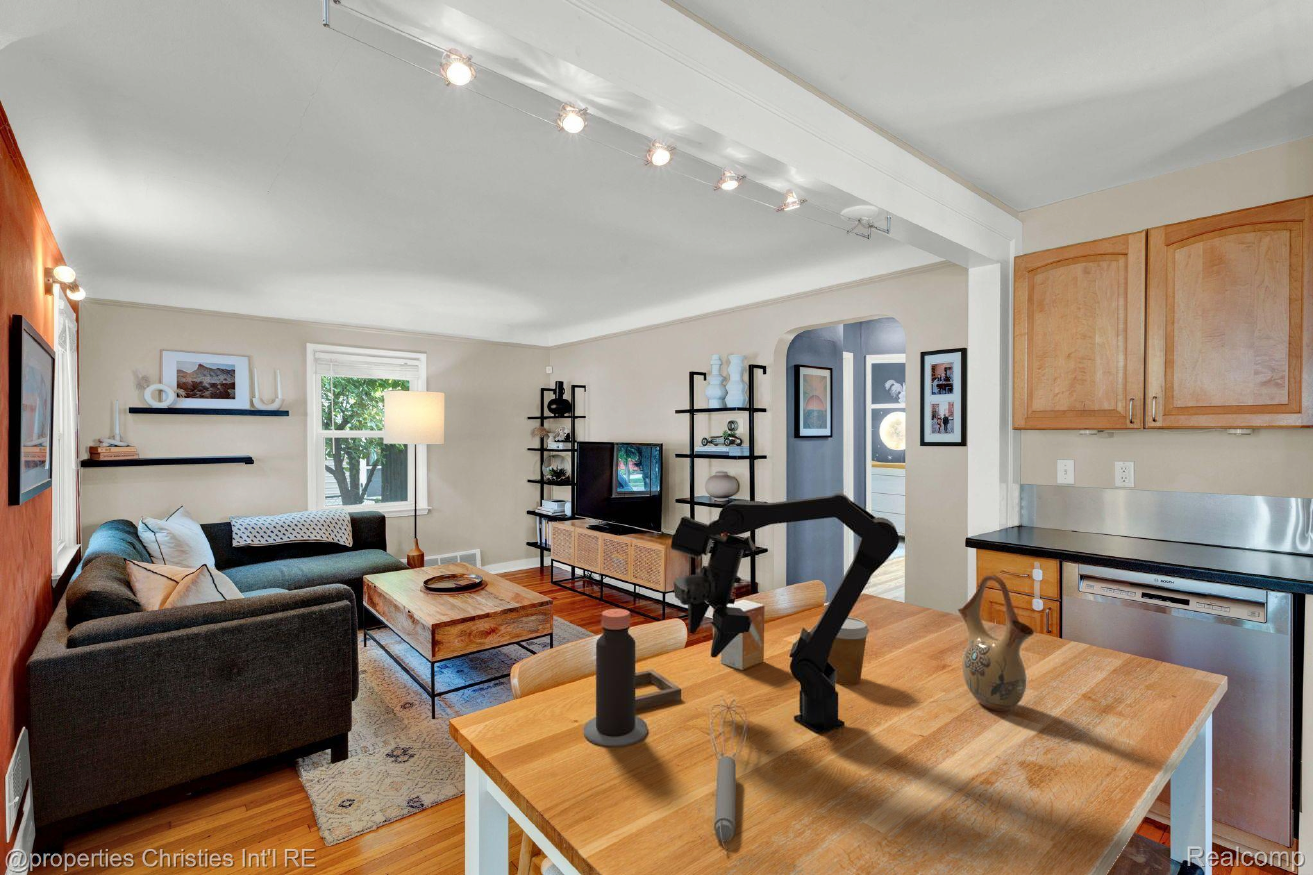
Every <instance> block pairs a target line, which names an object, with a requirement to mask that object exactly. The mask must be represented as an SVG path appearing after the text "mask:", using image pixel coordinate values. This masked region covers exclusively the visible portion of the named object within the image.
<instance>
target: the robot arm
mask: <svg viewBox="0 0 1313 875" xmlns="http://www.w3.org/2000/svg"><path fill="white" fill-rule="evenodd" d="M831 518H836V519H837V520H838V521H840V522H841V523H842V524H844V526H846V527H847V528H848V529H849V530H850V531H852V533H854V534H855V535H857V537H859V540H858V543H857V547H856V549H855V553H854V556H853V559H852V562H851V563H850V565H849V567H848V568H847V570H846V572H845V574H844V575H843V577H842V579H841V581H840V583H839V584H838V587H837V588H836V589H835V591H834V593H833V595H832V597H831V599H830V600H829V602H828V604H827V605H826V608H825V609H824V610H823V613H822V615H821V616H820V618H819V620H818V621H817V623H816V624H815V625H814V626H813V628H811V629H810V630H807V629H806V628H805V627H802V628H801V632H800V634H799V636H798V639H797V640H796V641H795V642H794V643H792V646H791V649H790V653H789V658H791V661H790V664H789V669H790V672H791V675H792V676H793V679H795V681H797V682H798V683H799V684H800V690H799V700H798V702H799V706H798V707H799V712H798V713H800V714H796V715H793V719H794V720H795V721H796V722H798V723H800V724H801V725H803V726H805V727H806V728H808V729H810V730H812V731H813V732H815V733H816V734H823V733H825V732H829V731H832V730H836V729H838V728H842V727H844V726H845V725H846V722H845V721H843V720H842V719H840V718H839V692H838V691H837V689H836V688H837V683H836V676H837V670H836V669H835V668H834V667H833V666H832V665H831V664H830V663H829V662H828V658H829V655H830V652H831V648H832V645H833V642H834V640H835V638H836V636H837V635H838V633H839V631H840V629H841V628H842V626H843V624H844V622H845V621H846V619H847V617H849V616H850V614H851V612H852V610H853V609H854V607H855V605H856V603H857V601H858V600H859V598H860V597H861V594H862V593H863V591H864V589H865V588H866V586H867V585H868V583H869V581H870V579H871V578H872V576H873V575H874V573H875V572H876V571H878V569H879V568H880V567H881V566H883V565H884V564H885V563H886V562H887V561H888V559H889V558H890V557H891V556H892V555H893V553H894V552H895V551H896V550H897V548H898V546H899V543H900V536H899V532H898V531H897V528H896V526H895V525H894V523H893V522H892V521H891V520H889V519H887V518H885V517H879V516H877V517H876V516H875V515H873V514H872V513H871V512H869V511H868V510H866V509H865V508H863V507H862V506H860V505H858V504H856V503H855V502H854V501H853V500H851V499H850V497H848V496H847V495H846V494H844V493H834V494H832V495H825V496H817V497H807V498H800V499H794V500H793V499H792V500H783V501H778V502H777V501H775V502H763V501H755V500H735V501H731V502H730V503H728V504H727V505H724V506H723V507H722V509H721V510H720V512H719V515H718V518H717V519H716V520H715V519H714V520H712V521H711V522H710V523H709V524H707V523H704V522H701V521H698V520H695V519H693V518H691V517H689V516H686V515H684V516H682V517H680V521H679V523H678V525H677V527H676V529H675V532H674V533H673V535H672V538H671V539H672V540H671V544H670V549H671V550H672V551H674V552H678V553H680V554H684V555H686V556H688V557H692V558H695V559H698V560H700V559H702V556H706V557H707V556H708V554H709V553H710V556H709V560H708V564H707V565H703V566H702V567H701V568H700V571H699V573H698V574H690V575H685V576H682V577H679V578H675V579H673V589H674V597H675V599H677V600H679V602H680V604H682V605H684V606H687V610H688V611H687V612H688V632H689V634H691V635H695V634H696V633H697V630H698V629H699V628H700V625H701V624H702V622H703V620H704V618H705V616H706V614H707V612H708V609H709V608H710V607H711V608H712V609H713V613H712V621H710V625H711V627H712V628H713V630H714V632H713V637H712V642H711V648H710V657H711V658H714V659H715V658H718V656H719V655H721V652H722V651H723V650H724V648H725V647H726V646H727V645H728V644H729V643H730V642H731V641H732V640H733V639H734V638H735V637H736V636H737V635H739V634H740V633H744V632H749V631H750V628H751V624H752V620H751V618H750V617H749V616H748V615H747V614H746V613H745V612H744V611H743V610H742V609H740V608H734V607H727V606H726V605H728V604H734V602H736V598H735V597H733V591H734V587H735V584H741V579H742V578H741V577H740V576H739V575H738V573H739V570H740V564H741V562H742V558H743V555H744V551H745V552H748V553H753V552H754V551H755V549H756V547H757V546H756V545H755V543H754V542H753V541H752V538H751V536H750V535H748V536H746V537H744V538H742V537H739V535H742V534H743V535H744V534H745V533H749V532H753V531H755V530H758V529H761V528H764V527H767V526H770V525H778V524H787V523H796V522H797V523H798V522H804V521H805V522H806V521H813V520H823V519H831ZM725 533H726V534H727V536H722V534H725ZM712 543H713V545H712ZM711 547H712V548H711ZM710 551H711V552H710Z"/></svg>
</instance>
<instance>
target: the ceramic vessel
mask: <svg viewBox="0 0 1313 875" xmlns="http://www.w3.org/2000/svg"><path fill="white" fill-rule="evenodd" d="M989 581H992V582H995V583H996V584H997V585H998V586H999V589H1000V590H1001V594H1002V598H1003V602H1004V608H1005V609H1004V610H1005V618H1006V621H1005V623H1006V624H1005V632H1004V635H1003V637H1002V638H1001V639H998V638H995V637H993V636H992V635H991V634H989V632H988V631H987V630H986V627H985V626H984V623H983V621H982V618H981V608H982V602H983V598H984V593H985V590H986V587H987V584H988V583H989ZM957 611H958V613H959V614H960V616H961V617H962V619H963V621H964V623H965V624H966V628H967V631H968V632H967V633H968V643H967V645H966V648H965V650H964V653H963V655H962V661H961V662H962V664H961V666H962V676H963V679H964V681H965V684H966V688H968V690H969V692H970V693H971V695H972V696H973V698H974V699H975V700H976V701H978V703H979V704H980V705H982V706H983V707H985V708H987V709H990V710H993V711H996V712H1006V711H1009V710H1011V709H1014V708H1015V707H1016V706H1017V705H1018V704H1019V703H1020V702H1021V700H1022V699H1023V697H1024V695H1025V693H1026V688H1027V673H1026V668H1025V665H1024V662H1023V660H1022V657H1021V654H1020V653H1021V648H1022V645H1023V644H1024V642H1025V641H1026V640H1028V639H1029V638H1031V637H1032V636H1033V635H1034V633H1035V631H1034V629H1033V628H1032V627H1031V626H1029V625H1028V624H1026V623H1025V622H1022V621H1020V620H1019V618H1018V615H1017V614H1016V611H1015V609H1014V606H1013V603H1012V599H1011V596H1010V592H1009V589H1008V587H1007V584H1006V583H1005V581H1004V580H1003V579H1002V578H1001V577H999V576H998V575H996V574H987V575H985V576H984V577H983V578H982V579H981V580H980V583H979V585H978V587H977V589H976V591H975V592H974V594H973V595H972V597H971V598H970V599H969V601H967V602H966V603H965V604H964V606H962V607H959V608H958V609H957Z"/></svg>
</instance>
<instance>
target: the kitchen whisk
mask: <svg viewBox="0 0 1313 875" xmlns="http://www.w3.org/2000/svg"><path fill="white" fill-rule="evenodd" d="M723 701H724V703H725V705H723ZM733 702H734V704H735V706H732V704H733ZM716 706H717V707H719V706H720V707H723V708H725V709H721V710H720V712H718V713H717V714H716V715H714V717H713V718H711V716H712V711H713V709H714V708H715V707H716ZM733 708H734V709H733ZM737 708H741V709H742V710H743V711H744V713H745V715H747V712H746V709H745V708H743V707H742V706H738V705H737V702H736V700H735V699H733V700H732V701H731V702H730V704H729V705H728V703H727V702H726V700H725V699H723V698H722V700H721V702H720V704H715V705H714V706H712V707H711V709H710V713H709V714H710V715H709V720H710V721H709V722H710V727H709V734H710V735H709V736H710V737H709V738H710V741H711V745H712V748H713V751H714V753H715V755H716V757H717V760H718V761H717V770H716V772H717V774H716V786H715V787H716V791H715V803H714V804H715V807H714V820H713V821H714V825H713V830H714V832H715V837H716V838H717V840H719V841H721V840H722V841H721V842H722V846H723V847H724V849H725V850H728V849H727V846H725V843H724V842H730V841H731V840H732V839H733V837H734V834H735V831H736V784H737V782H736V779H737V778H736V773H737V772H736V767H737V764H736V761H737V760H738V758H739V756H740V754H741V752H742V750H743V749H744V745H745V742H746V738H747V734H745V735H744V733H745V731H746V729H747V717H745V720H744V718H743V717H742V715H740V714H739V713H738V712H737ZM724 711H726V714H725V716H724V719H723V718H722V716H720V726H721V730H720V731H721V732H720V736H721V739H722V749H723V753H722V752H721V751H719V749H718V745H717V743H716V738H715V735H714V731H713V726H712V725H713V723H714V722H713V721H714V720H715V718H716V717H717V716H718V715H720V714H722V712H724ZM731 711H733V712H734V718H733V715H732V713H731ZM728 712H729V714H730V717H731V720H732V723H733V727H732V734H731V741H730V747H729V754H728V755H726V752H725V744H724V734H723V729H724V724H725V720H726V717H727V714H728ZM736 715H738V716H739V717H740V718H741V720H742V722H743V723H744V727H743V731H742V735H741V738H740V740H739V744H738V746H737V748H736V751H735V752H734V751H733V755H732V757H731V752H732V751H731V750H732V747H733V746H732V745H733V739H734V738H733V737H736V733H735V732H736V727H735V724H736ZM722 719H723V720H722ZM722 721H723V722H722ZM743 737H744V740H743V744H742V746H741V749H740V751H739V753H738V755H737V752H738V750H739V747H740V745H741V742H742V739H743ZM712 738H713V739H712ZM713 741H714V744H715V746H714V744H713ZM715 748H716V749H715ZM735 757H736V758H735ZM734 758H735V759H734ZM723 840H724V841H723Z"/></svg>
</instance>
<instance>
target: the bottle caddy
mask: <svg viewBox="0 0 1313 875" xmlns="http://www.w3.org/2000/svg"><path fill="white" fill-rule="evenodd" d="M647 683H651V684H652V685H654V686H655V687H657V688H658V689H660V690H658V691H654V692H650V693H646V694H640V695H637V696H636V695H635V711H639V710H643V709H648V708H651V707H654V706H659V705H663V704H667V703H668V704H669V703H671V702H676V701H680V700H682V688H680V687H679V686H678V685H676V684H675V683H673V682H672V681H670V680H669V679H667V677H665V676H663V675H662V674H660V673H659V672H657V671H656V670H654V669H653V668H652V669H648V670H643V671H639V672H635V686H638V685H642V684H647Z"/></svg>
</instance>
